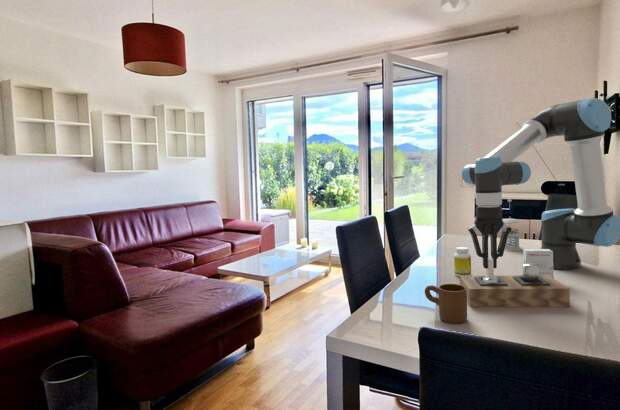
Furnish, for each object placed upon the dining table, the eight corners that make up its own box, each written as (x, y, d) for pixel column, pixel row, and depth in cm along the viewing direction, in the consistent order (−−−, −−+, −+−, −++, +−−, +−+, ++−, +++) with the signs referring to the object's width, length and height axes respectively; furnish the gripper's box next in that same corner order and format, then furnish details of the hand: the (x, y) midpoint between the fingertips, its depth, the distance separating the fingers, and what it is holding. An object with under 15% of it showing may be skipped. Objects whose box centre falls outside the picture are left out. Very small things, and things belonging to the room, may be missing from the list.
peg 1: (495, 292, 123) (495, 276, 122) (500, 297, 118) (499, 280, 118) (481, 292, 124) (481, 276, 123) (485, 297, 119) (484, 280, 119)
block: (548, 291, 124) (548, 273, 124) (569, 306, 111) (569, 286, 110) (460, 291, 130) (459, 274, 129) (469, 306, 116) (469, 287, 115)
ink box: (549, 279, 136) (549, 248, 135) (553, 284, 131) (553, 251, 130) (523, 279, 139) (523, 248, 137) (526, 283, 134) (526, 251, 133)
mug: (420, 318, 110) (419, 287, 109) (430, 309, 116) (429, 280, 115) (462, 326, 102) (461, 293, 101) (470, 317, 108) (469, 285, 107)
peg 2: (535, 279, 120) (535, 262, 120) (541, 283, 116) (541, 266, 115) (520, 279, 121) (520, 262, 120) (525, 283, 117) (525, 266, 116)
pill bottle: (472, 277, 144) (472, 249, 143) (456, 277, 146) (455, 249, 145) (469, 272, 151) (468, 246, 150) (453, 273, 152) (452, 246, 151)
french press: (525, 250, 181) (525, 199, 179) (501, 251, 181) (500, 200, 179) (515, 246, 191) (514, 197, 189) (492, 247, 191) (491, 199, 189)
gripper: (506, 203, 121) (507, 274, 123) (464, 205, 123) (466, 274, 125) (515, 206, 113) (515, 281, 116) (469, 207, 116) (471, 281, 118)
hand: (489, 277), depth 120 cm, fingers closed
